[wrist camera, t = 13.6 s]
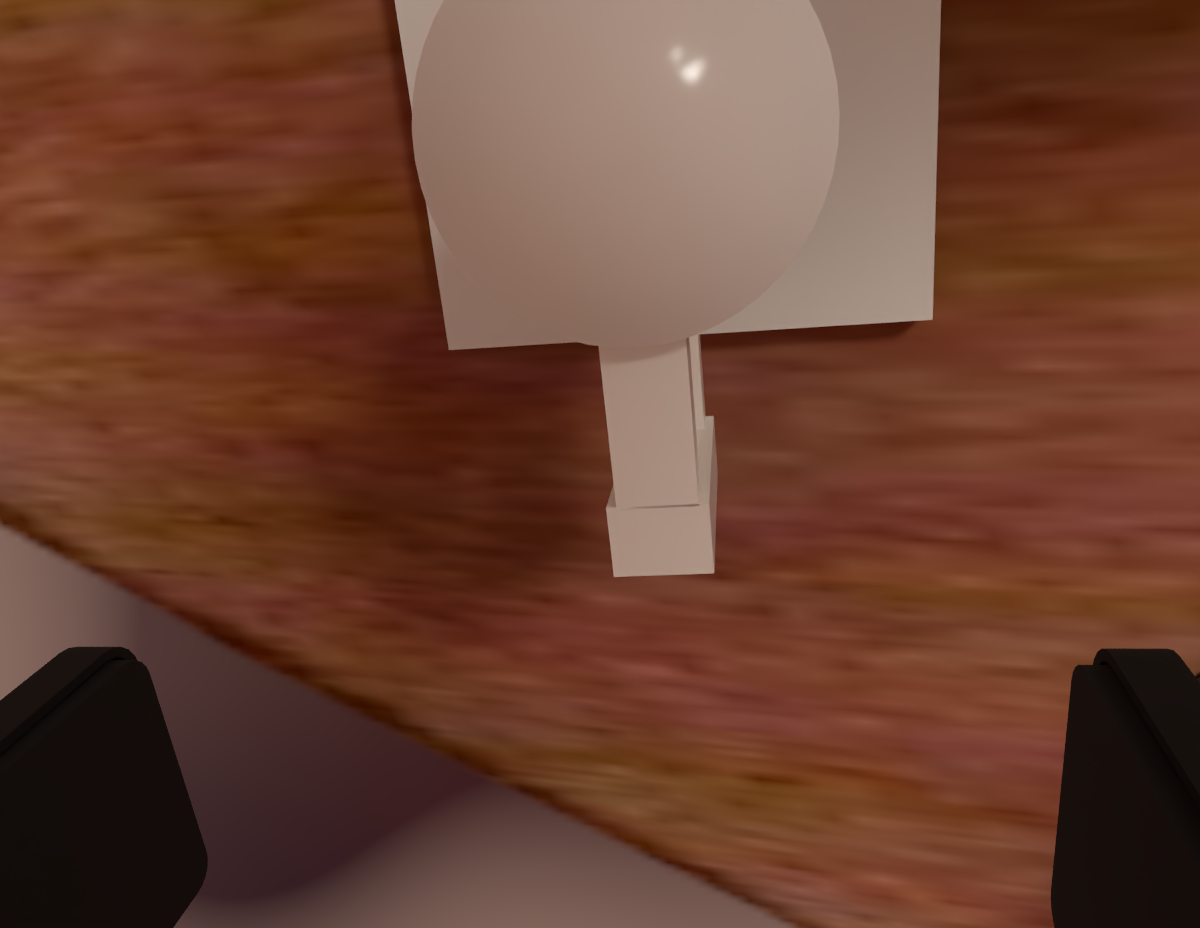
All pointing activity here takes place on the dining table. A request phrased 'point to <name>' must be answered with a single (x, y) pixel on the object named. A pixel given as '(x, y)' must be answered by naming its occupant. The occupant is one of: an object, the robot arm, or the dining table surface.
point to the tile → (852, 206)
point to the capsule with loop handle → (630, 205)
